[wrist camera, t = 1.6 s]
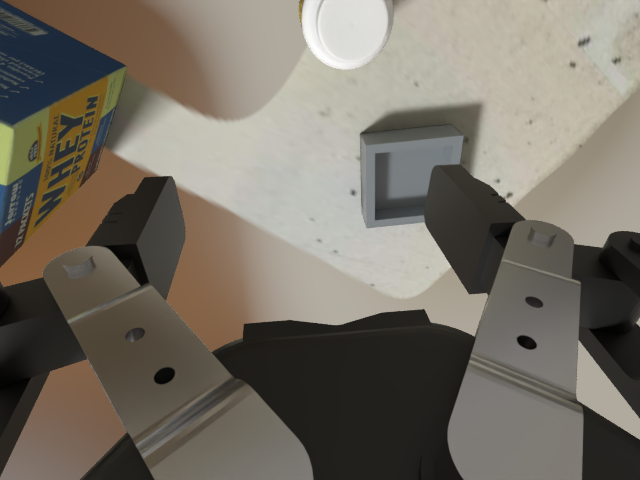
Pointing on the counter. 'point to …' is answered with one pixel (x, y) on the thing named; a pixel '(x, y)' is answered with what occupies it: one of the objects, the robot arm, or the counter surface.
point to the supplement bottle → (346, 30)
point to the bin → (403, 171)
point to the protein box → (48, 120)
